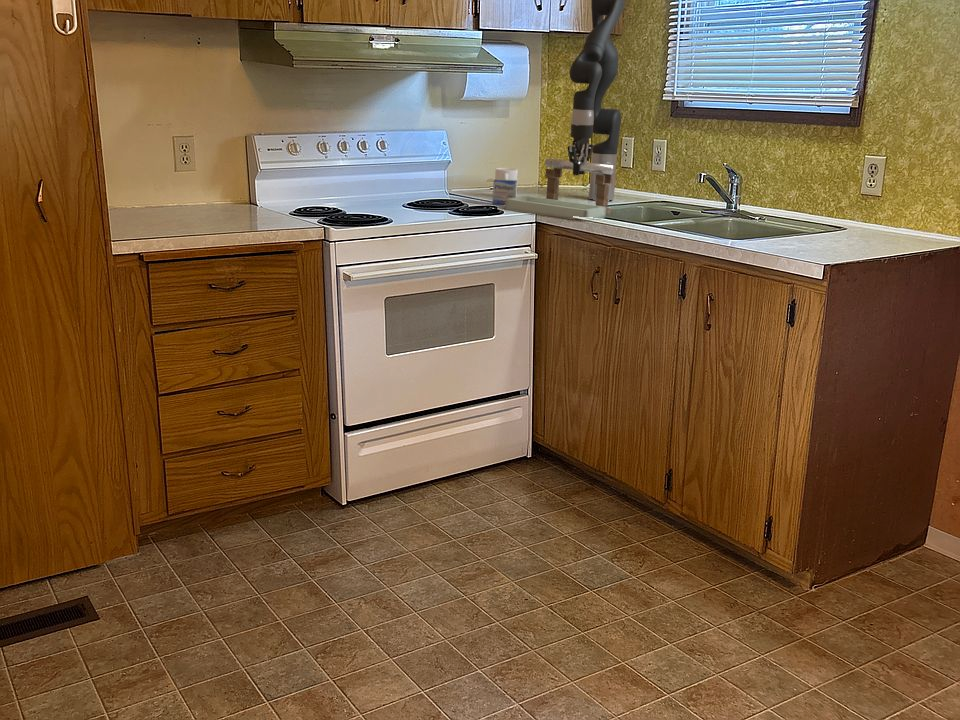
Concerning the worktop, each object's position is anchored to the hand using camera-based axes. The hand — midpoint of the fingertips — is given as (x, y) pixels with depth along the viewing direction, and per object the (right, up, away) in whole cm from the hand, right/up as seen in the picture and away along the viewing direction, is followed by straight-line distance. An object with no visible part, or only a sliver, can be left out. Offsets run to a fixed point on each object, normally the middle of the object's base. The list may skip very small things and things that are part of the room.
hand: (578, 174), depth 319 cm
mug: (-25, -4, +25) cm, 35 cm away
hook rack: (-1, -11, +4) cm, 12 cm away
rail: (0, +1, 0) cm, 1 cm away
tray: (-9, -15, -7) cm, 19 cm away
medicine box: (-26, -9, +8) cm, 28 cm away
